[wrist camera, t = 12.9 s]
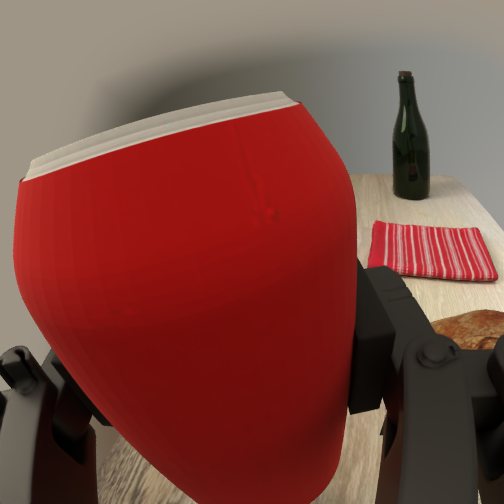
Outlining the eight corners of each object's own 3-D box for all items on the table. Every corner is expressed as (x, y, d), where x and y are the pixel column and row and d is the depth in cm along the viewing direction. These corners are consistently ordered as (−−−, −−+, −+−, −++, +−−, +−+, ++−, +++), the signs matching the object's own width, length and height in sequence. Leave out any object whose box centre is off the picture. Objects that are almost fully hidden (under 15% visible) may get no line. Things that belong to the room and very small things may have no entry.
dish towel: (373, 229, 62) (373, 217, 60) (479, 237, 51) (481, 225, 50) (363, 275, 49) (364, 261, 47) (497, 286, 38) (500, 272, 37)
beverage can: (364, 427, 11) (386, 84, 5) (283, 553, 7) (2, 173, 1) (244, 381, 14) (173, 110, 8) (157, 473, 10) (-30, 191, 4)
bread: (407, 498, 18) (443, 459, 13) (366, 359, 34) (373, 293, 29) (558, 420, 16) (602, 360, 12) (496, 322, 32) (516, 261, 28)
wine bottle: (434, 200, 70) (430, 71, 54) (397, 201, 73) (389, 69, 57) (423, 187, 78) (418, 72, 63) (389, 188, 81) (381, 71, 66)
